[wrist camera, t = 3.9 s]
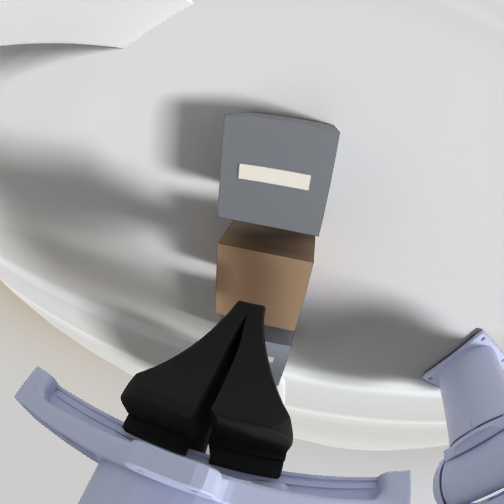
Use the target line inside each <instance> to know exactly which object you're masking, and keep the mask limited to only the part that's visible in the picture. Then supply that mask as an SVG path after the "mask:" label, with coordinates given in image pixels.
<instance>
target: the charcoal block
mask: <svg viewBox="0 0 504 504" xmlns="http://www.w3.org/2000/svg"><path fill="white" fill-rule="evenodd" d="M339 135H340V132H339V131H338V129H337V128H336V127H335V126H334V125H330V124H326V123H321V122H315V121H310V120H304V119H298V118H292V117H285V116H279V115H271V114H263V113H254V112H246V113H237V114H229V115H225V118H224V130H223V142H222V155H221V169H220V185H219V201H218V217H221V218H227V219H232V220H238V221H243V222H248V223H254V224H259V225H264V226H269V227H274V228H279V229H285V230H290V231H295V232H300V233H304V234H309V235H314V236H319V233H320V229H321V224H322V220H323V215H324V211H325V206H326V202H327V197H328V192H329V188H330V183H331V178H332V173H333V168H334V162H335V157H336V152H337V146H338V141H339Z"/></svg>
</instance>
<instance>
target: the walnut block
mask: <svg viewBox="0 0 504 504" xmlns="http://www.w3.org/2000/svg"><path fill="white" fill-rule="evenodd" d="M314 248H315V236H314V235H309V234H304V233H300V232H295V231H290V230H285V229H279V228H274V227H269V226H264V225H259V224H254V223H248V222H243V221H238V220H234V221H233V222H232V224H231V225H230V226H229V228H228V229H227V231H226V232H225V234H224V235H223V236H222V238H221V239H220V241H219V242H218V245H217V272H216V310H215V313H217V314H221V315H225V316H226V315H227V314H228V313H229V311H230V310H231V309H232V308H233V307H234V305H235V304H236V303H237V302H238V301H244V302H248V303H253V304H257V305H262V306H264V307H265V308H266V311H265V316H264V325H267V326H272V327H277V328H281V329H286V330H291V331H295V328H296V325H297V322H298V318H299V315H300V311H301V308H302V304H303V300H304V297H305V293H306V290H307V286H308V282H309V278H310V275H311V271H312V267H313V263H314Z"/></svg>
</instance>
